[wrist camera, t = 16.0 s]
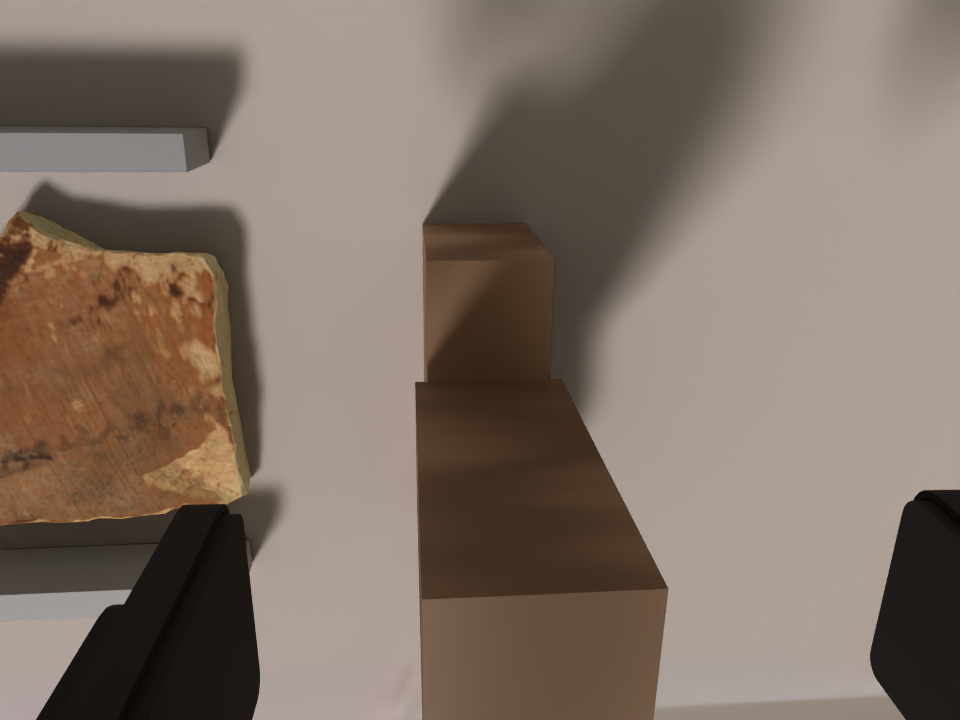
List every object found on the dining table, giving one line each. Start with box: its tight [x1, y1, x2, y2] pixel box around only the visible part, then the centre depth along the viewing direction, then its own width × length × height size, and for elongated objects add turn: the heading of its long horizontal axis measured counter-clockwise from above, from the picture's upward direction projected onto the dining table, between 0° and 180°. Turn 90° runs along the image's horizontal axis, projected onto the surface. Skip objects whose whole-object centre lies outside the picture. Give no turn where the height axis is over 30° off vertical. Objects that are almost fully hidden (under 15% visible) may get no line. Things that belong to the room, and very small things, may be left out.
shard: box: [0, 211, 251, 525], centre depth 19 cm, size 11×8×2 cm
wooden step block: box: [415, 224, 668, 720], centre depth 15 cm, size 3×8×11 cm, turn 0°
